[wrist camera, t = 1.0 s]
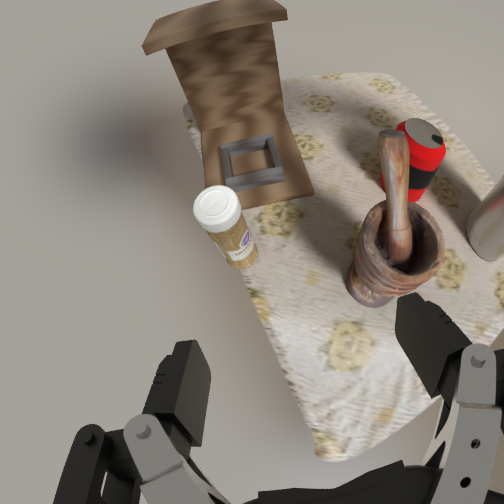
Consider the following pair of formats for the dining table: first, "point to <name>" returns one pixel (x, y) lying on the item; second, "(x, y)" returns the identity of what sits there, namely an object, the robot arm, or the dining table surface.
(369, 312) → the dining table surface
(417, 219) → the mortar and pestle
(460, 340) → the robot arm
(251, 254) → the sprinkles bottle
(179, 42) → the overhang stand
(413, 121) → the soda can
